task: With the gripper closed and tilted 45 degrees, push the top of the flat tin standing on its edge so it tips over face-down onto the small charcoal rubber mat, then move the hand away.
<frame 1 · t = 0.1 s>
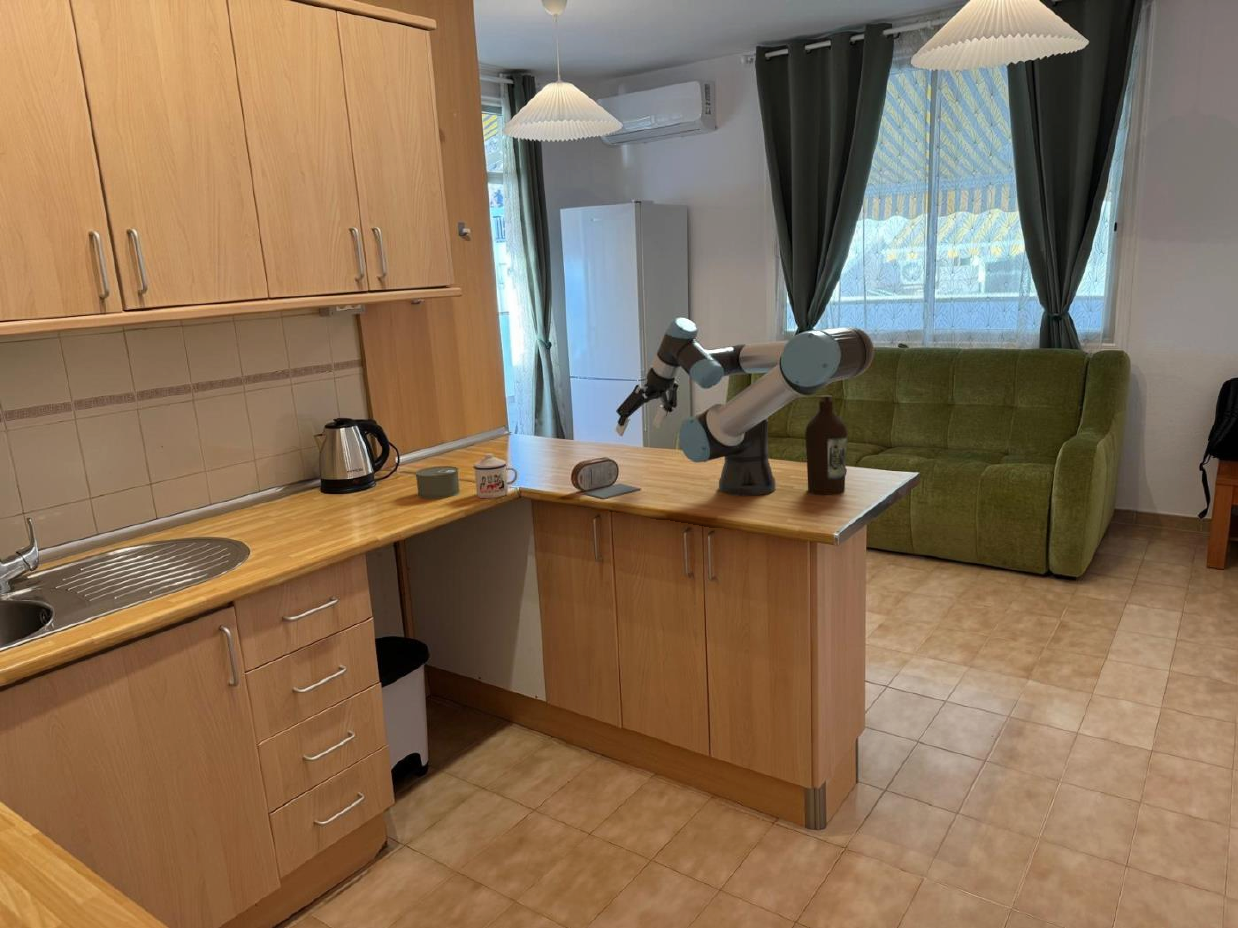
hand: (637, 429, 245), 15 cm above the worktop, tool tilted 35°, fingers open, 13 cm apart
can: (439, 494, 248), on the worktop
tin: (596, 489, 244), on the worktop
teacup with lid: (497, 494, 244), on the worktop
mat: (612, 491, 240), on the worktop
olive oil: (826, 491, 229), on the worktop
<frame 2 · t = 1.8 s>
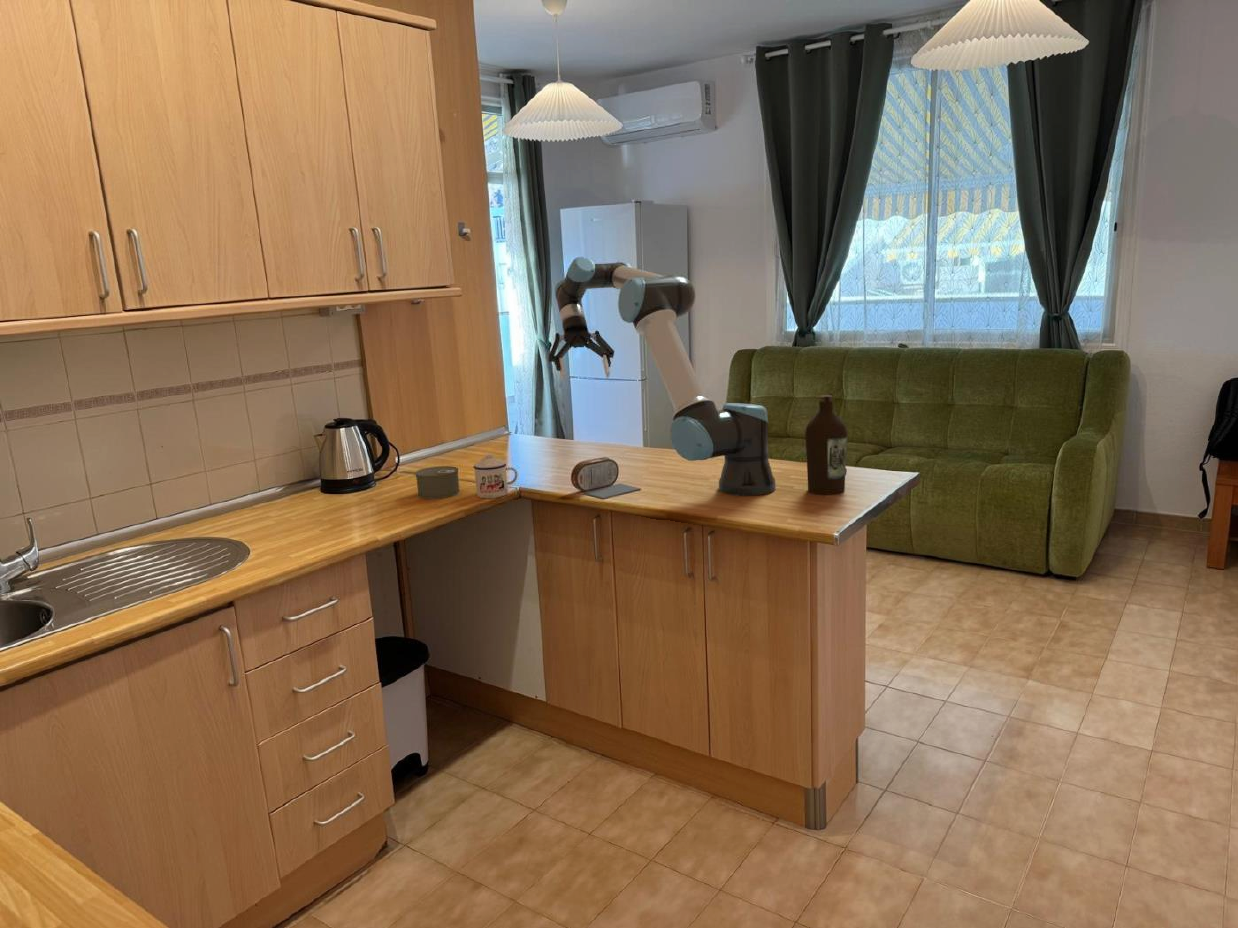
hand: (586, 376, 261), 29 cm above the worktop, tool tilted 45°, fingers open, 13 cm apart
nothing on the worktop moved.
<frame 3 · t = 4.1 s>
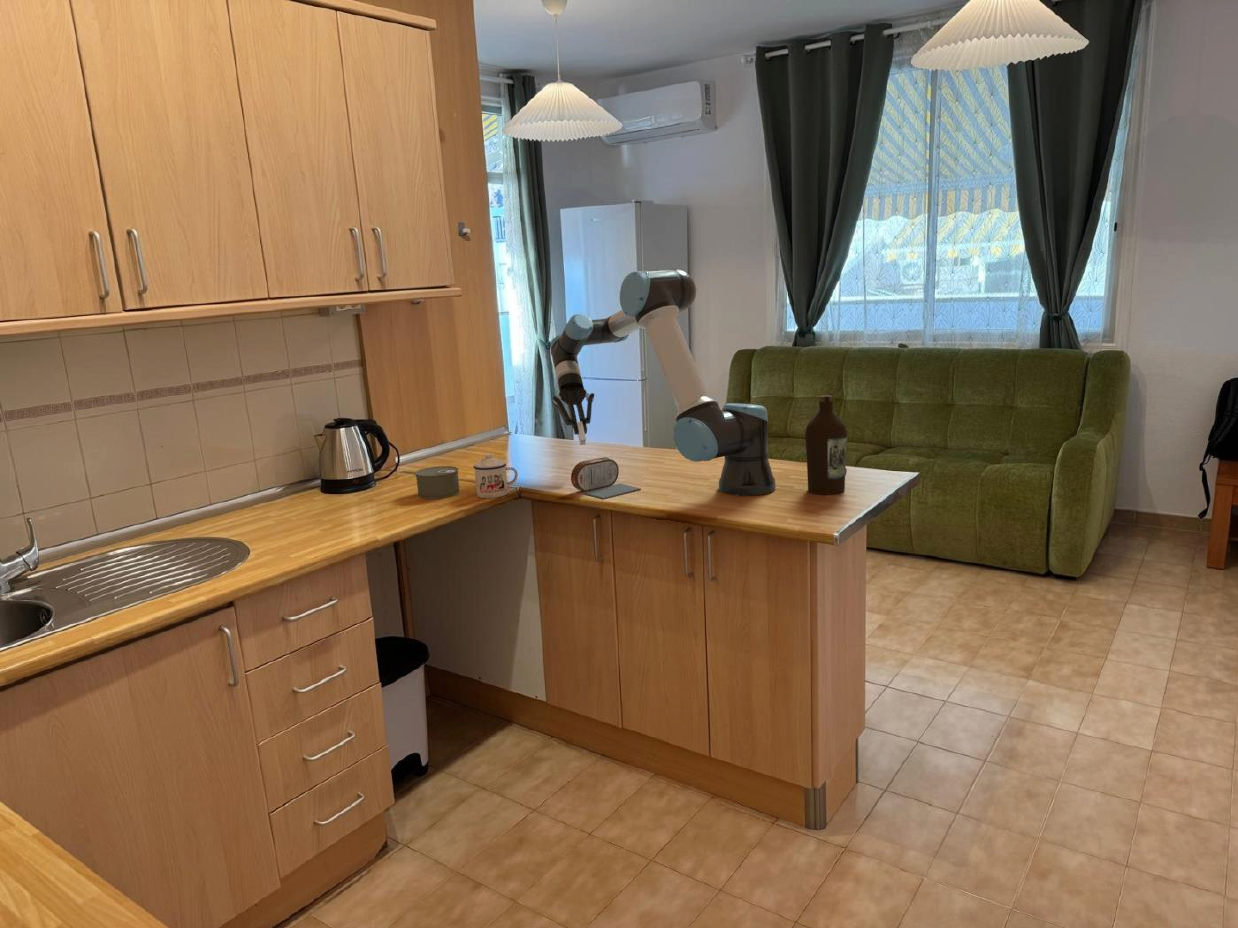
hand: (583, 442, 255), 11 cm above the worktop, tool tilted 45°, fingers closed
nothing on the worktop moved.
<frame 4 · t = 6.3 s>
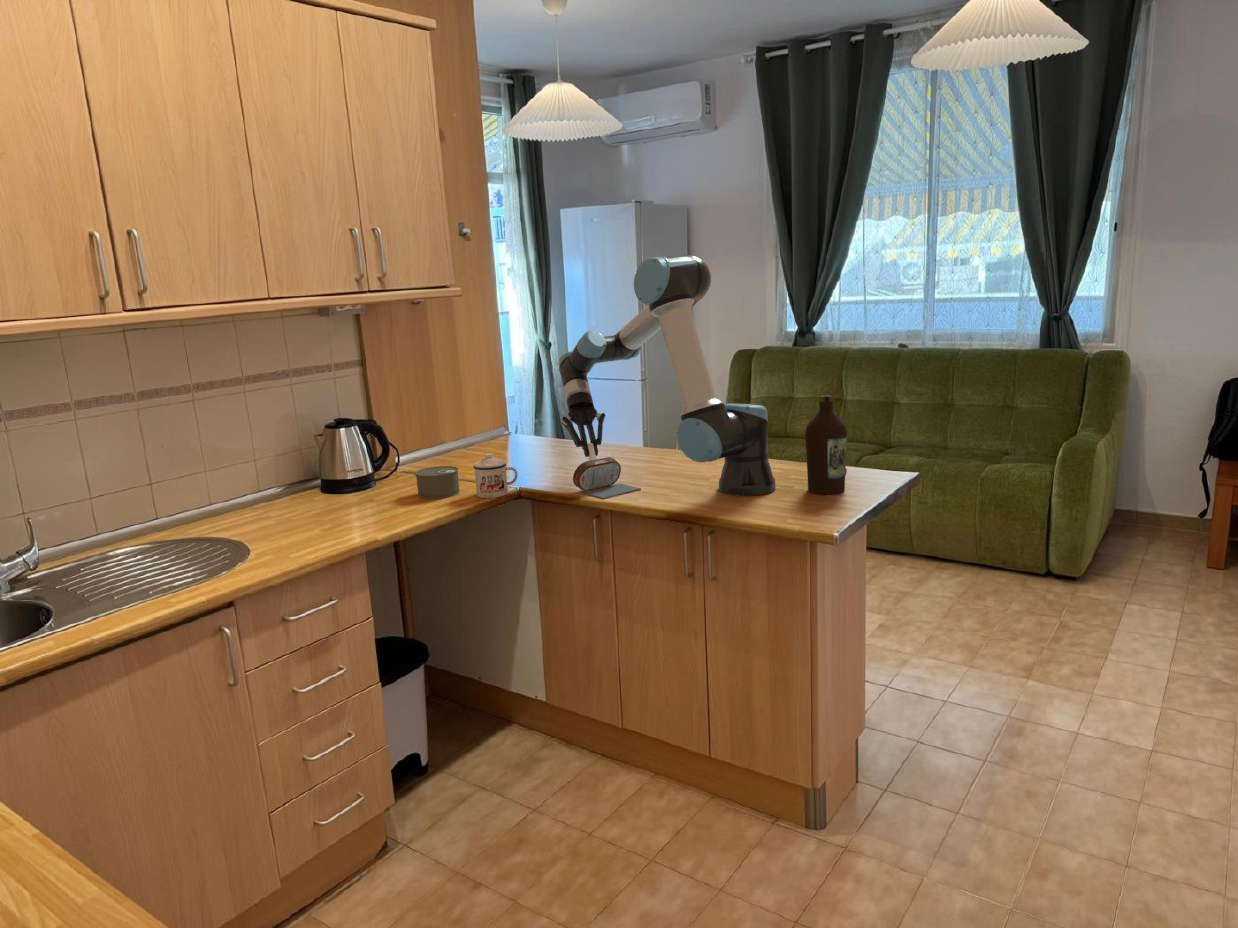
hand: (594, 464, 243), 7 cm above the worktop, tool tilted 45°, fingers closed
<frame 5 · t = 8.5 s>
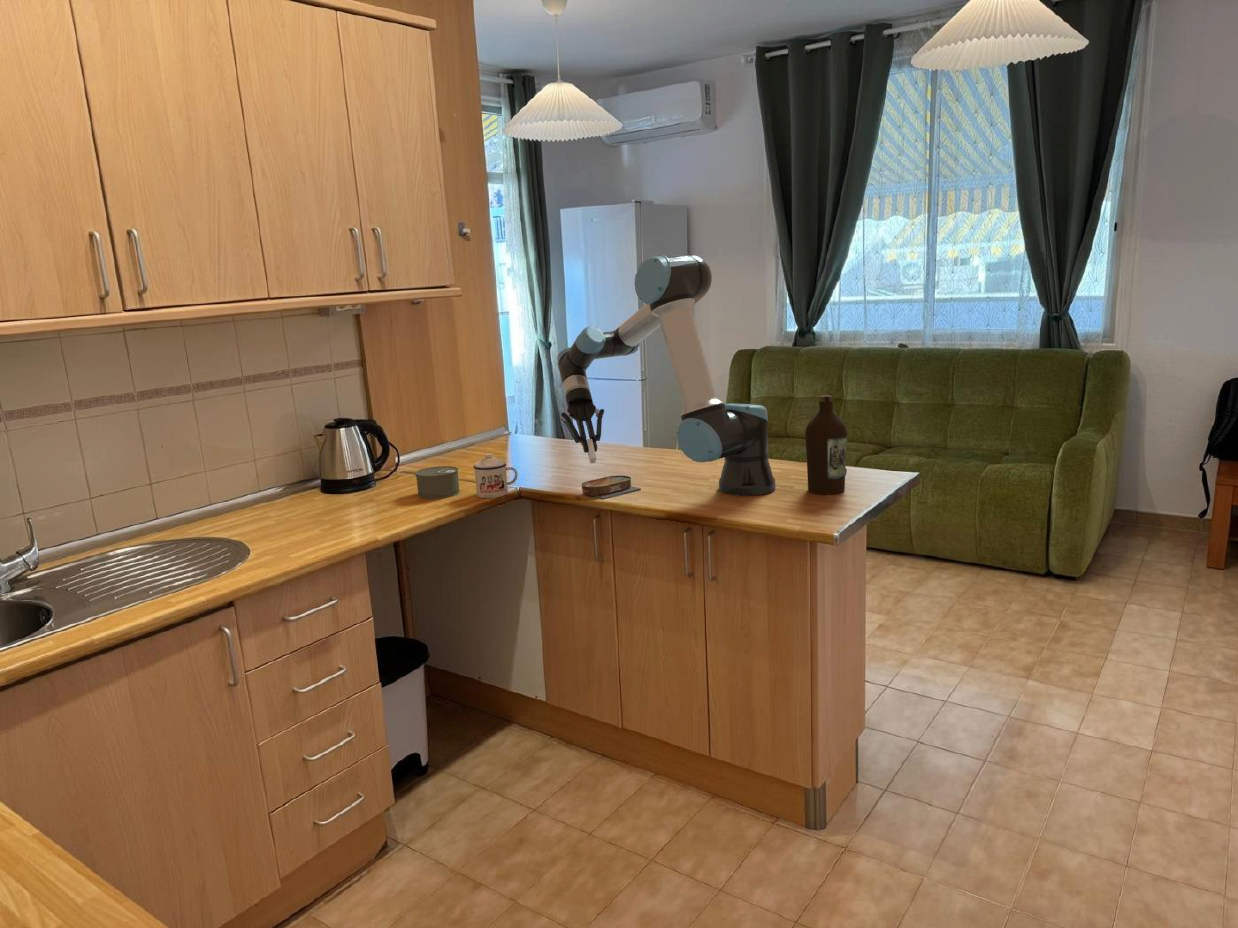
hand: (593, 460, 243), 8 cm above the worktop, tool tilted 45°, fingers closed
tin: (597, 484, 243), point 1 cm above the worktop, touching mat
everything else where it was.
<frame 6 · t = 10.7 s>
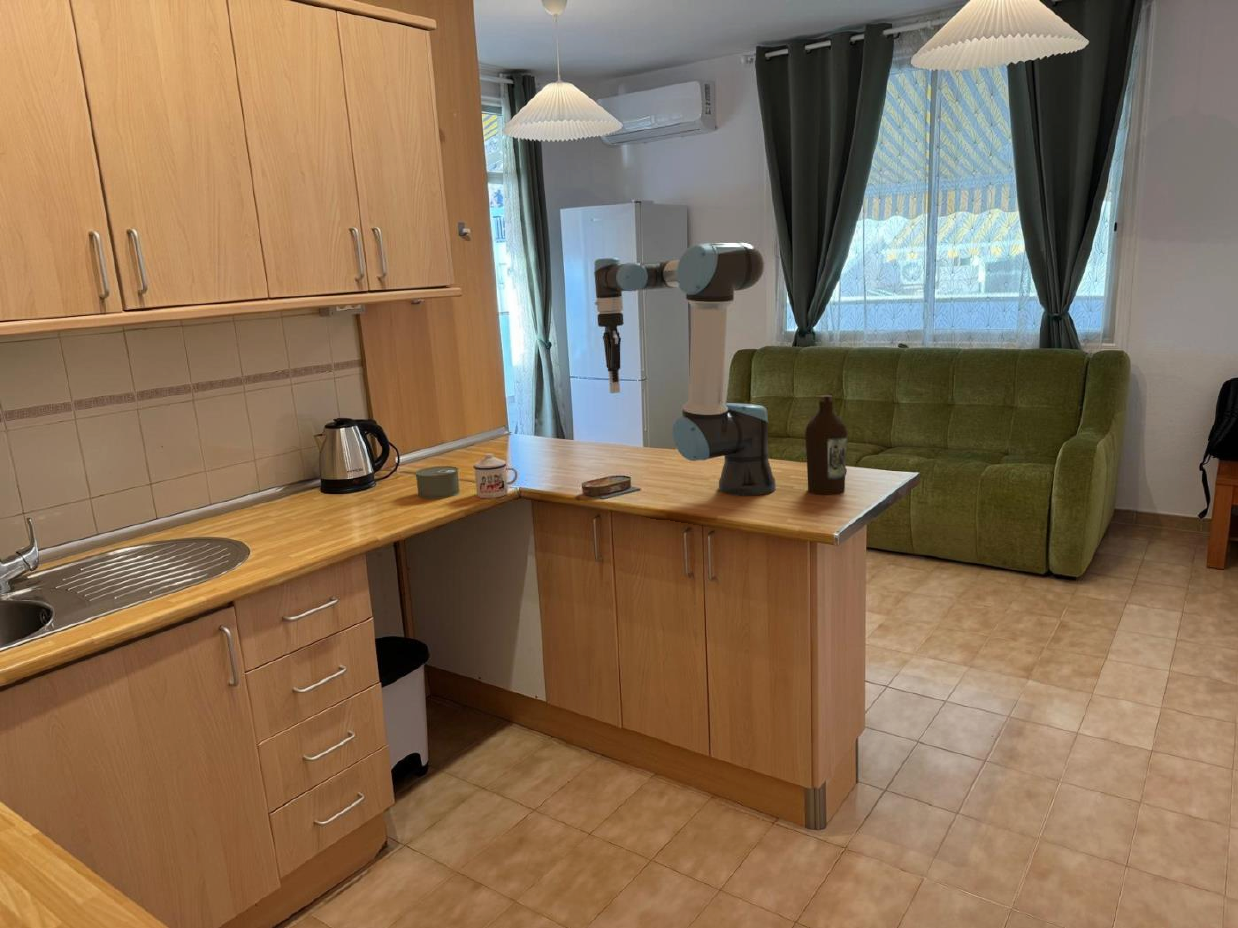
hand: (614, 392, 259), 24 cm above the worktop, tool pointing down, fingers closed
nothing on the worktop moved.
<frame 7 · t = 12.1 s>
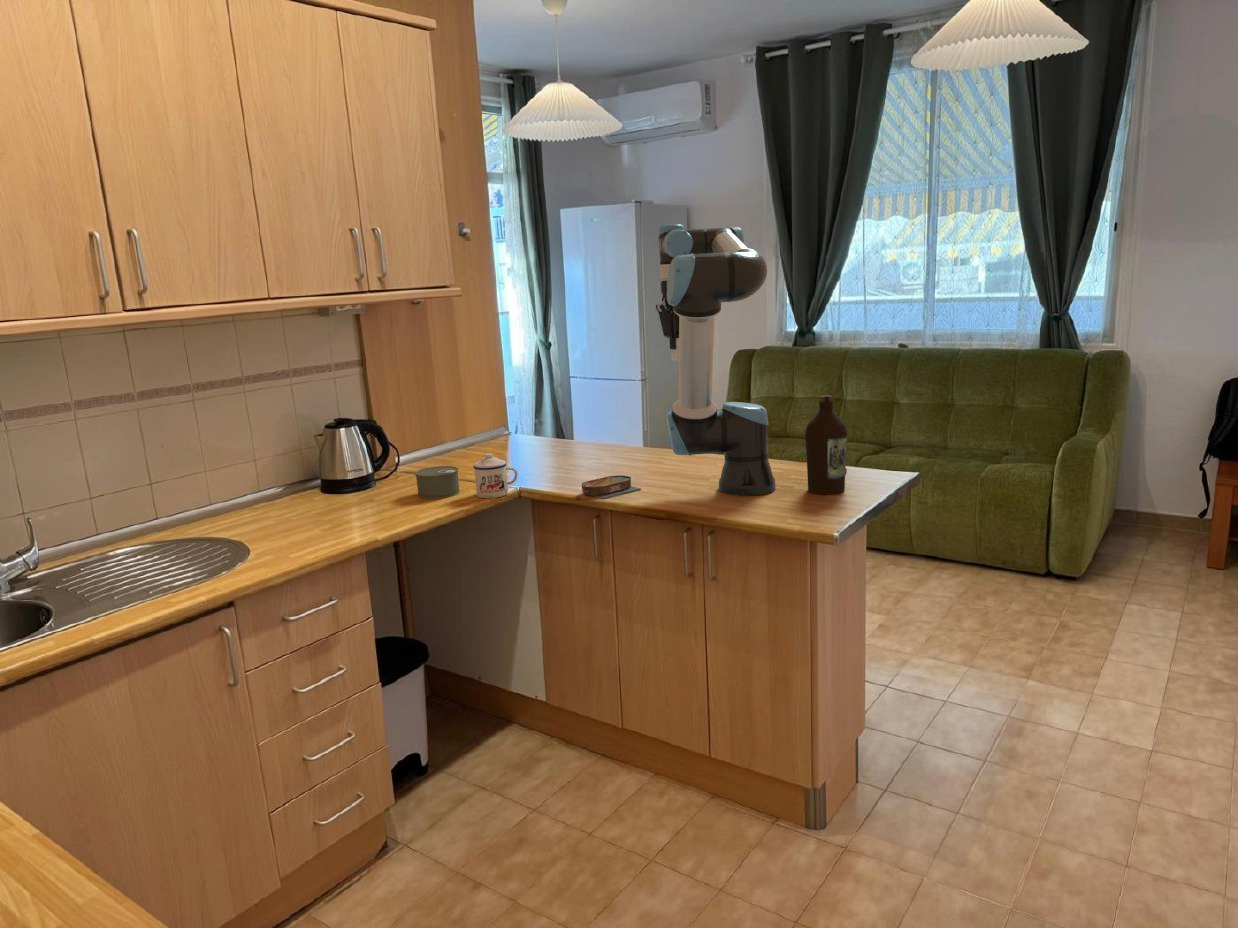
hand: (676, 360, 259), 32 cm above the worktop, tool pointing down, fingers closed
nothing on the worktop moved.
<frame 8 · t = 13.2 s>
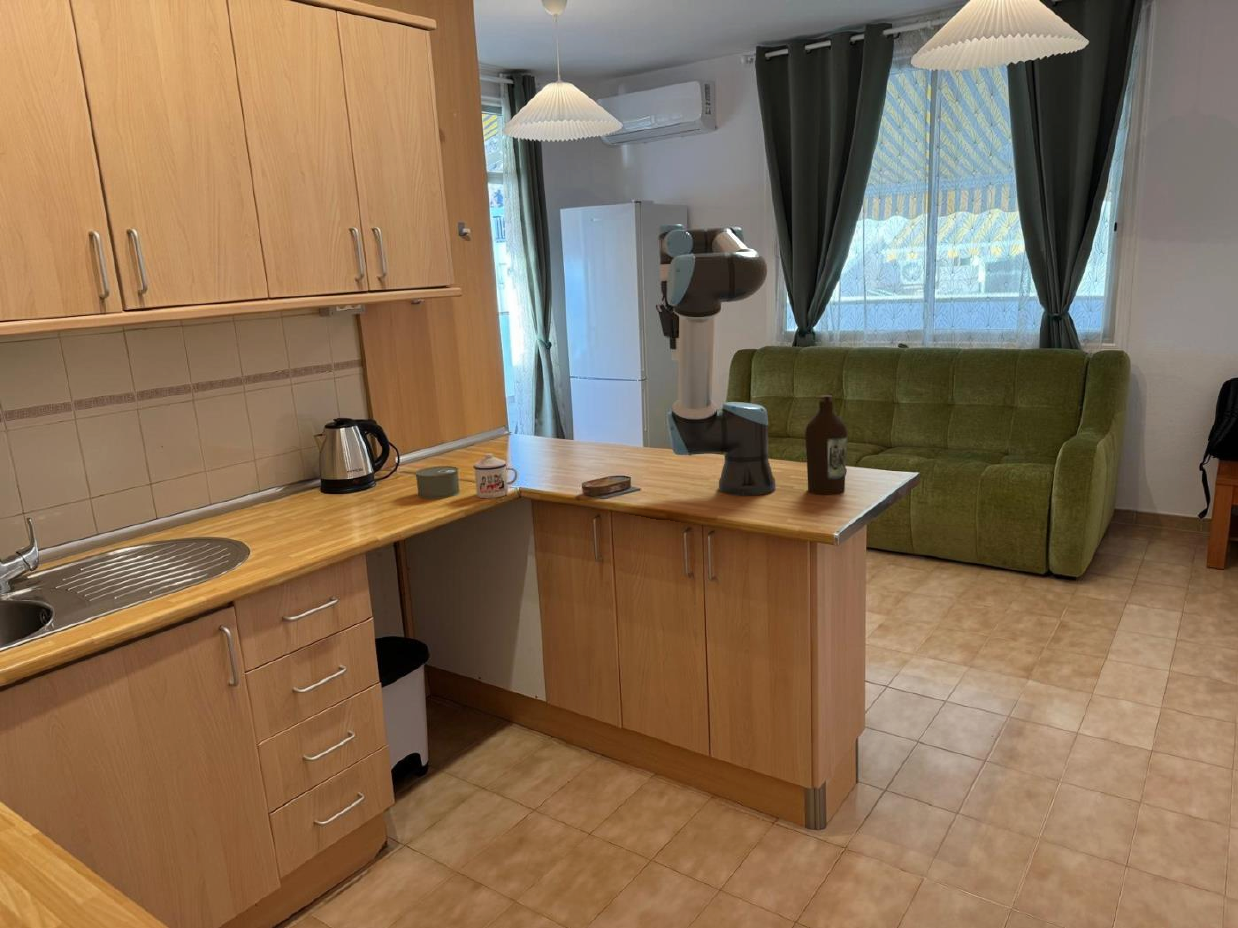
hand: (676, 360, 259), 32 cm above the worktop, tool pointing down, fingers closed
nothing on the worktop moved.
at the end: tin tilted 85°; tin inside the target area (3.8 cm from its centre), point 1.3 cm above the worktop; the gripper is holding nothing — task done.
